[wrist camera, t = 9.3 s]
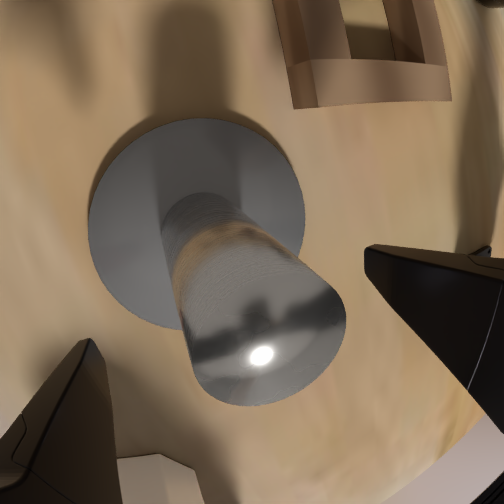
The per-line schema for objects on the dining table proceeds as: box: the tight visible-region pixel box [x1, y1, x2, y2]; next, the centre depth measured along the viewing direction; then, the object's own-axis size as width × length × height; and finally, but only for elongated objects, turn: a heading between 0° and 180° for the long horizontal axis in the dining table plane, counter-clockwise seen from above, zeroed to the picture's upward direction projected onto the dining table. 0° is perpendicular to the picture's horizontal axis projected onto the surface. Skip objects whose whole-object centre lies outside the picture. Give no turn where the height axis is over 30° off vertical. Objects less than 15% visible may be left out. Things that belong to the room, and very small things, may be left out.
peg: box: [161, 192, 346, 406], centre depth 11 cm, size 4×4×9 cm
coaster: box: [88, 118, 305, 330], centre depth 16 cm, size 11×11×1 cm
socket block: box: [272, 0, 452, 109], centre depth 13 cm, size 10×10×2 cm
